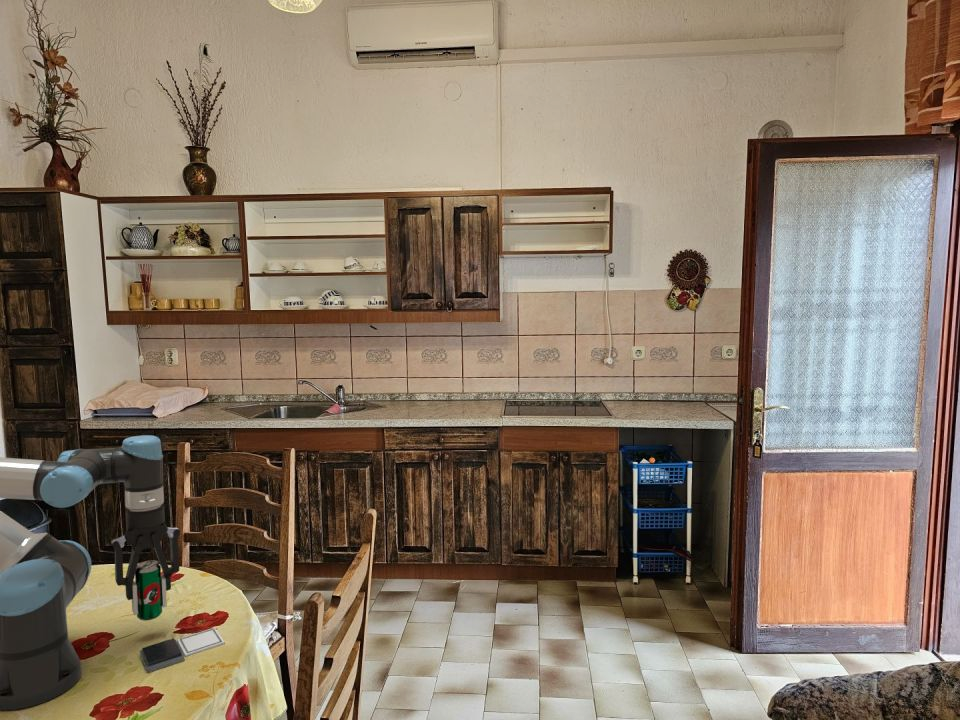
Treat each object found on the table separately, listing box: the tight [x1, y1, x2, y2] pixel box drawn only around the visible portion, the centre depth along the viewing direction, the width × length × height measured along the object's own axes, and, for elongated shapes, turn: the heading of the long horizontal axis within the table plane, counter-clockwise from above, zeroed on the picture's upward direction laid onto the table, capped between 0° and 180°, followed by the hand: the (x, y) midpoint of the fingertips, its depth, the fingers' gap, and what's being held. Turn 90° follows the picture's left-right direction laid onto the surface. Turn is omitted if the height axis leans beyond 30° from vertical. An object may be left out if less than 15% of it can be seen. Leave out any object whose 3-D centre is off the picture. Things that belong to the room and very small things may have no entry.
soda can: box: [134, 560, 163, 621], centre depth 140 cm, size 5×5×12 cm
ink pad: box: [139, 637, 185, 674], centre depth 132 cm, size 7×8×2 cm
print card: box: [176, 627, 226, 658], centre depth 138 cm, size 8×8×1 cm
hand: (149, 608), depth 140 cm, fingers closed on soda can, 5 cm apart
